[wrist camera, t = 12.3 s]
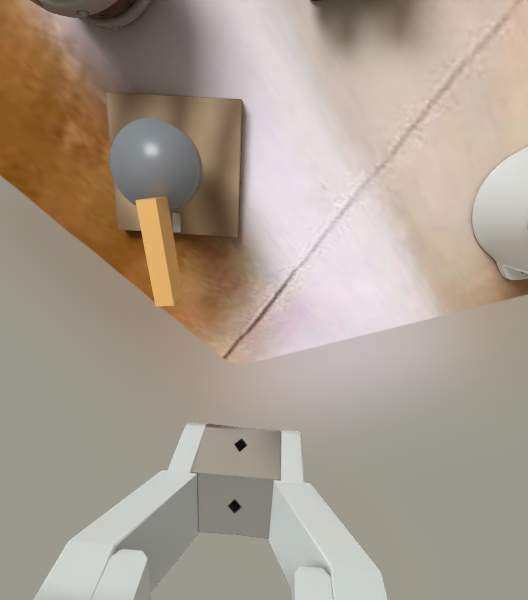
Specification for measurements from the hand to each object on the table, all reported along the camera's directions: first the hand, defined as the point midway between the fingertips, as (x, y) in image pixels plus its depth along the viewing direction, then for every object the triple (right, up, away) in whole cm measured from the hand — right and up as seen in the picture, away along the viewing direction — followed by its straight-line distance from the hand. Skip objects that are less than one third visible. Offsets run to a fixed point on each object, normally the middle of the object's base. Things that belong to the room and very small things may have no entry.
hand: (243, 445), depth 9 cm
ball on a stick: (-10, +14, +30) cm, 35 cm away
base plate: (-10, +21, +35) cm, 42 cm away
